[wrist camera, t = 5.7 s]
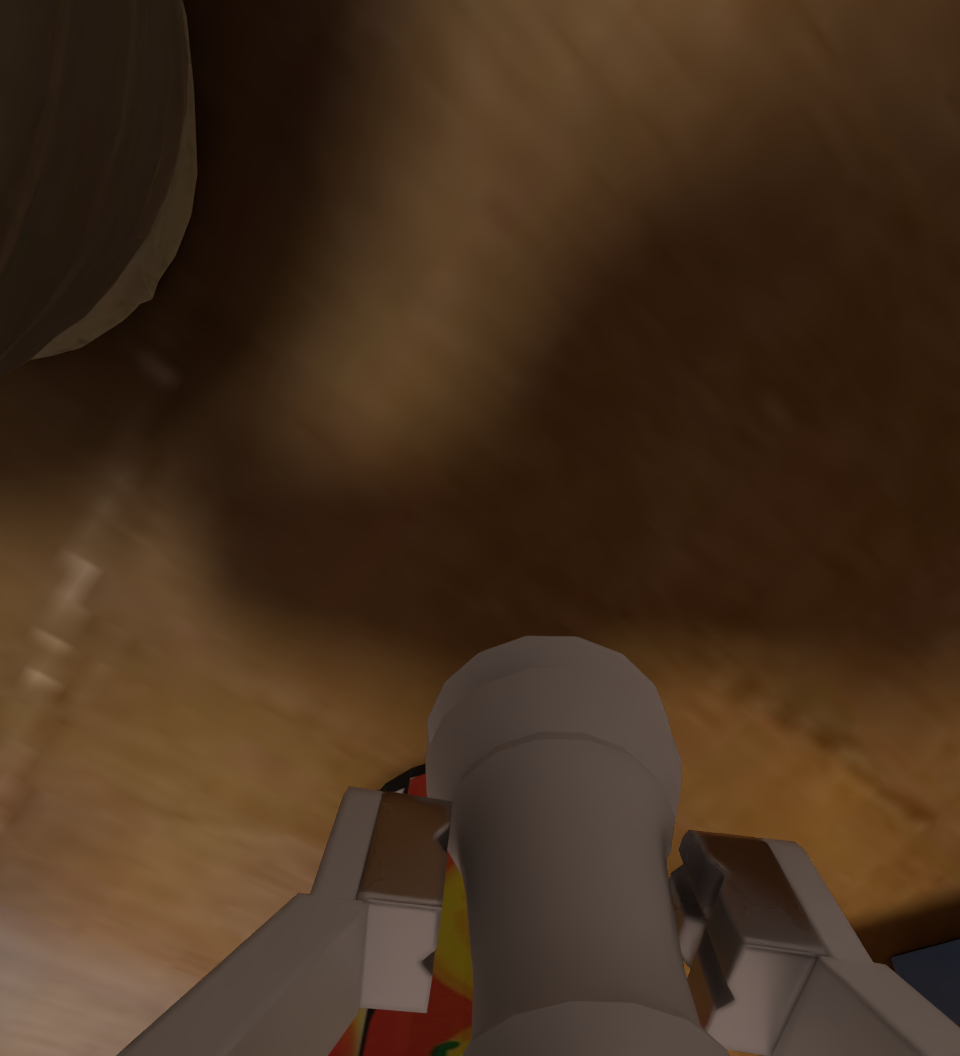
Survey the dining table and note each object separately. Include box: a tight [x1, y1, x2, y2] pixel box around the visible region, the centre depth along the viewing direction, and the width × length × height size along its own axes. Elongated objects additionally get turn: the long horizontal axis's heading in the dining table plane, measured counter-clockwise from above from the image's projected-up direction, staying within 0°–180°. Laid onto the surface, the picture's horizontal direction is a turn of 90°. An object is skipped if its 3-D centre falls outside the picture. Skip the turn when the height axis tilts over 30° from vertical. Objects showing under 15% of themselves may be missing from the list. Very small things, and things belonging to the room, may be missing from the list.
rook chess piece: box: [425, 636, 729, 1056], centre depth 7 cm, size 4×4×8 cm
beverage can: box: [328, 765, 473, 1056], centre depth 16 cm, size 9×9×12 cm
